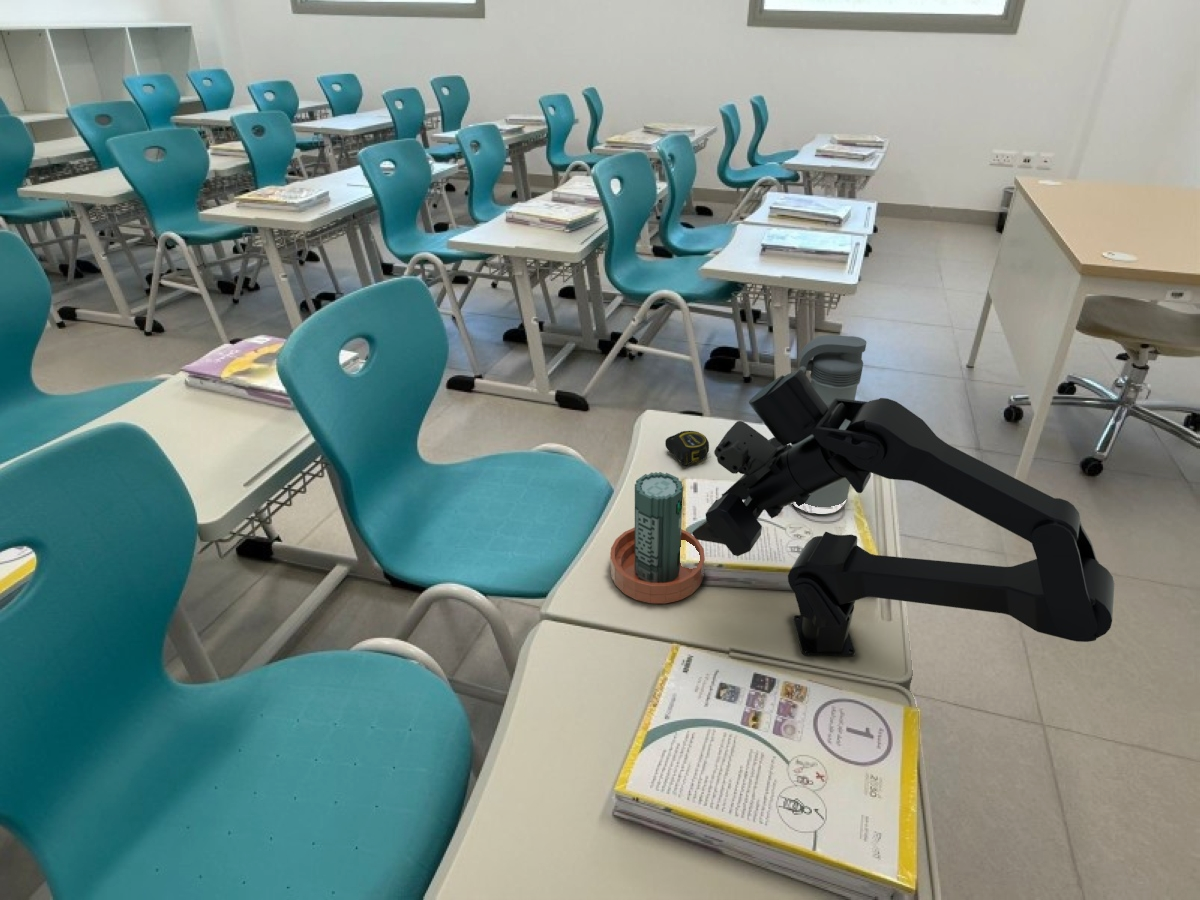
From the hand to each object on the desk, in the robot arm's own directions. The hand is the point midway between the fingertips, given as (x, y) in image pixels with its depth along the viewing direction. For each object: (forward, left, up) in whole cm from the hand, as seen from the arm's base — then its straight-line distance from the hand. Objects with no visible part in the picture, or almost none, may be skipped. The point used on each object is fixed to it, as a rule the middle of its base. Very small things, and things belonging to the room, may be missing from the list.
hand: (710, 516), depth 93 cm
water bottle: (+22, -19, -13) cm, 32 cm away
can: (+4, +7, -13) cm, 15 cm away
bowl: (+4, +7, -13) cm, 15 cm away
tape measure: (+34, +1, -13) cm, 36 cm away
